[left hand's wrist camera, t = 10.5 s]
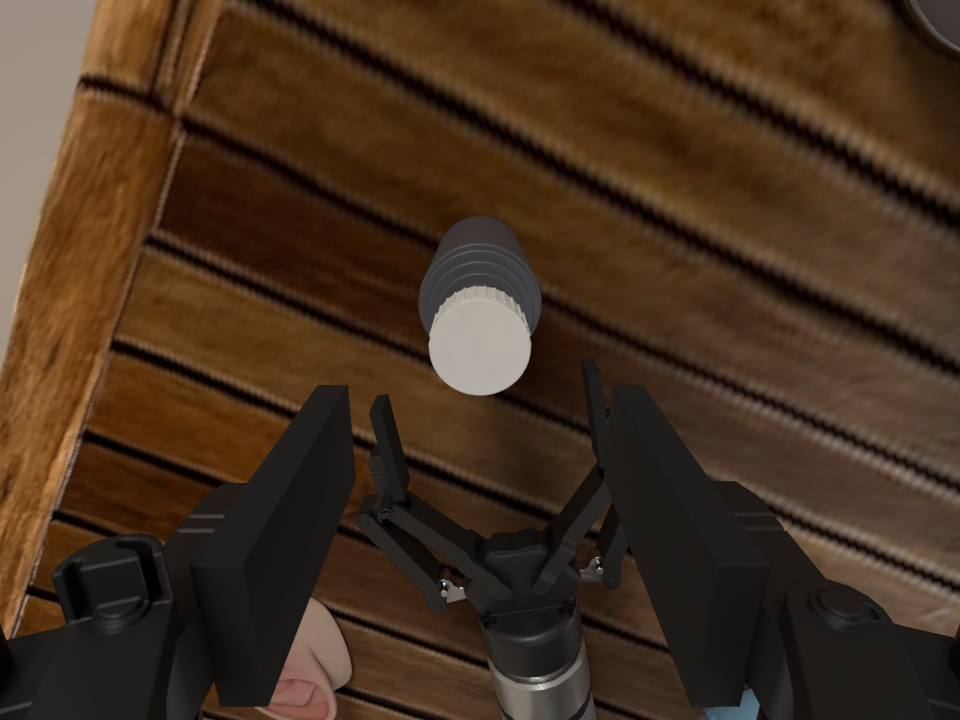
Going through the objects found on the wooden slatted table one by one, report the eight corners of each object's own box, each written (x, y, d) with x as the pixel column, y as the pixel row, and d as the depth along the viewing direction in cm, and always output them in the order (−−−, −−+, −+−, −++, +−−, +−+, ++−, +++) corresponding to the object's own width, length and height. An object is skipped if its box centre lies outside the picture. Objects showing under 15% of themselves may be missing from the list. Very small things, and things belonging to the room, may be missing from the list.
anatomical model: (180, 621, 44) (323, 614, 44) (203, 585, 48) (336, 578, 48) (217, 738, 49) (347, 732, 49) (236, 697, 52) (357, 691, 52)
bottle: (521, 301, 40) (555, 415, 22) (439, 301, 40) (405, 417, 22) (523, 215, 38) (561, 266, 20) (435, 216, 38) (396, 268, 20)
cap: (526, 375, 23) (531, 396, 21) (434, 375, 23) (429, 397, 21) (528, 284, 22) (533, 297, 20) (430, 285, 22) (425, 298, 20)
